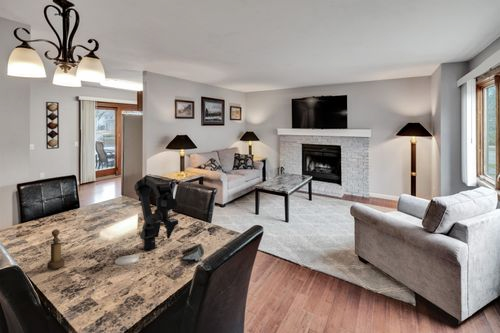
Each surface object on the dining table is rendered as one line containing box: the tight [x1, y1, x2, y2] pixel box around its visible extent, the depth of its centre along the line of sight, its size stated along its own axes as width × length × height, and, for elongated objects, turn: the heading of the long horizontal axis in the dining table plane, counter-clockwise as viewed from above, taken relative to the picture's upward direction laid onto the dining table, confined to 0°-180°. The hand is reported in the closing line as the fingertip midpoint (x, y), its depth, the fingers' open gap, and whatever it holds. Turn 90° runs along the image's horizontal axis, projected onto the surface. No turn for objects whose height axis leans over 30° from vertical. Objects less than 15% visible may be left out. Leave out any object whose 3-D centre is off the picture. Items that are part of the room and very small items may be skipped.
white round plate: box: [114, 254, 140, 266], centre depth 128 cm, size 11×11×1 cm
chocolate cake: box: [181, 243, 205, 261], centre depth 130 cm, size 10×7×12 cm
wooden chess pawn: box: [46, 228, 65, 270], centre depth 121 cm, size 7×6×18 cm
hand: (162, 236), depth 131 cm, fingers open, 9 cm apart
